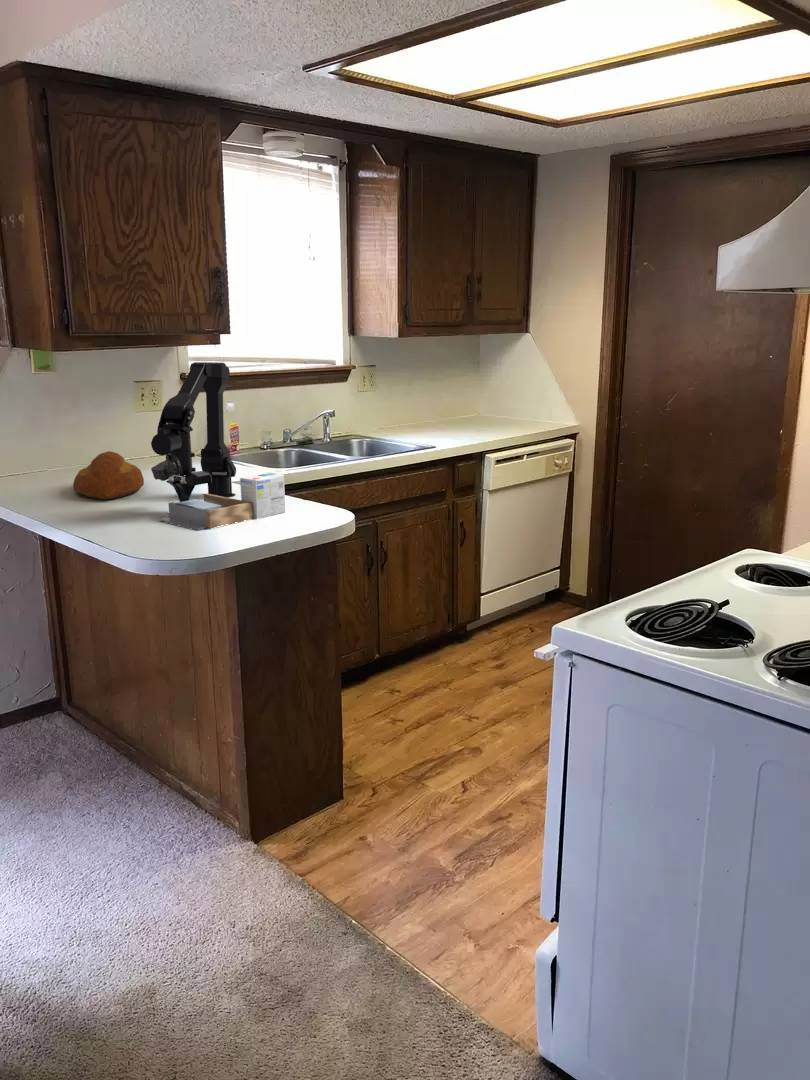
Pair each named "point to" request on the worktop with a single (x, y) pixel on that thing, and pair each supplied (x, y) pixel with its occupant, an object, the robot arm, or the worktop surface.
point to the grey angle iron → (187, 516)
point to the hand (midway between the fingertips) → (183, 505)
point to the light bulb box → (264, 493)
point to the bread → (108, 477)
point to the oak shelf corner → (227, 510)
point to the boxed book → (200, 504)
